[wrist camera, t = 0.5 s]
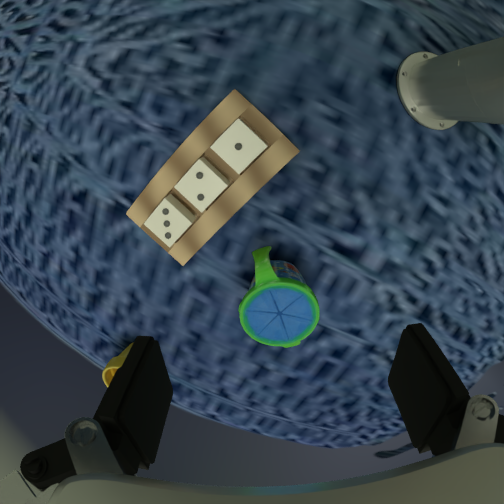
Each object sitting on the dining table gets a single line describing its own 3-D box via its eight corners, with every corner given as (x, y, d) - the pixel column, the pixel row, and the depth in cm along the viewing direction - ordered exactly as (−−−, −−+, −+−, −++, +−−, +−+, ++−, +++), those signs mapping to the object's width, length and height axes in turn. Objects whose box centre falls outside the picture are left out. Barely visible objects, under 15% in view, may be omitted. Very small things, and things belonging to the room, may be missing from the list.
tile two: (203, 156, 38) (198, 159, 35) (230, 182, 39) (227, 186, 36) (179, 183, 39) (173, 187, 37) (205, 207, 41) (201, 213, 38)
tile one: (240, 119, 36) (237, 118, 33) (267, 145, 37) (267, 146, 34) (213, 146, 37) (209, 147, 34) (240, 171, 38) (238, 174, 36)
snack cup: (316, 312, 49) (325, 352, 40) (256, 323, 51) (254, 364, 41) (301, 227, 43) (311, 255, 34) (232, 241, 45) (223, 272, 36)
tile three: (170, 193, 40) (164, 198, 37) (196, 217, 41) (191, 223, 39) (150, 218, 42) (143, 224, 39) (175, 240, 43) (169, 248, 40)
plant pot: (113, 351, 56) (95, 382, 47) (131, 325, 53) (112, 358, 44) (152, 377, 59) (139, 410, 50) (174, 355, 55) (161, 391, 46)
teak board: (236, 90, 36) (234, 88, 34) (298, 150, 39) (299, 151, 37) (131, 210, 44) (125, 213, 42) (186, 260, 46) (182, 265, 45)
